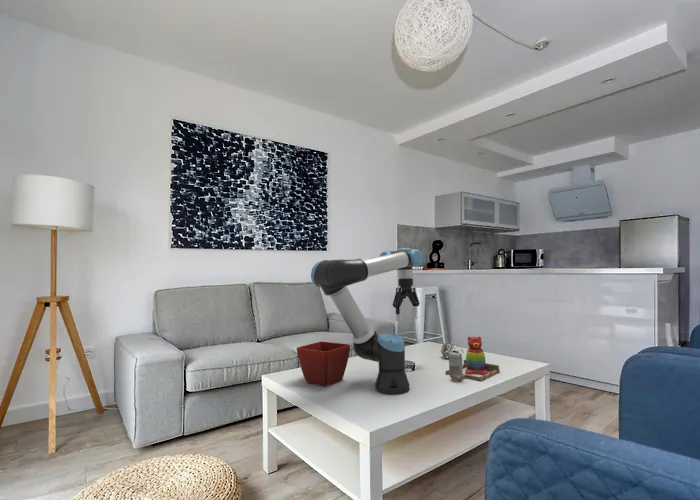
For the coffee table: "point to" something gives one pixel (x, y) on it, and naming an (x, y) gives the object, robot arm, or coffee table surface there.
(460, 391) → the coffee table surface
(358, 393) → the coffee table surface
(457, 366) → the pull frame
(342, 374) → the plant pot
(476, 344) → the stacking bear
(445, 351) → the passion flower
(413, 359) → the coffee table surface
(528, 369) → the coffee table surface
